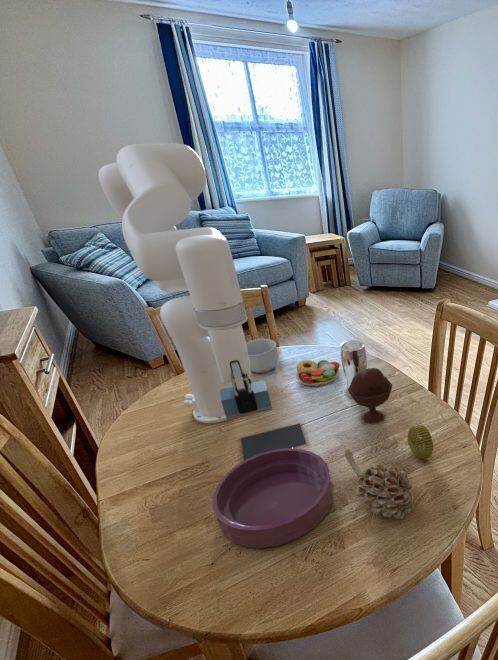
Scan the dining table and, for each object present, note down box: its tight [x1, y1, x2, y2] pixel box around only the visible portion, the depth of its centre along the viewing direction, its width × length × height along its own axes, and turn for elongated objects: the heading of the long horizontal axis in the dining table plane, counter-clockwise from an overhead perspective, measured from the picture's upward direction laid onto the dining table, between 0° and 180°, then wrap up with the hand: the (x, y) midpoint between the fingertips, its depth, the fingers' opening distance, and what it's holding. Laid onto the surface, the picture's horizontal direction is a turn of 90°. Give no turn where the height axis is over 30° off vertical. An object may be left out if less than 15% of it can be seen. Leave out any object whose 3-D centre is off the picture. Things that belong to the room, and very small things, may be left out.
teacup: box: [246, 338, 279, 374], centre depth 129 cm, size 14×11×8 cm
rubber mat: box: [240, 423, 307, 461], centre depth 99 cm, size 14×9×1 cm, turn 116°
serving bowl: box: [211, 447, 334, 549], centre depth 81 cm, size 22×22×6 cm
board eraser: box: [220, 379, 273, 422], centre depth 78 cm, size 8×4×4 cm, turn 116°
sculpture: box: [407, 424, 434, 460], centre depth 93 cm, size 8×4×8 cm, turn 29°
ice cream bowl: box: [348, 367, 393, 424], centre depth 104 cm, size 11×11×15 cm
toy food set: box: [295, 359, 341, 387], centre depth 126 cm, size 13×13×3 cm
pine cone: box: [344, 447, 415, 519], centre depth 82 cm, size 22×10×10 cm, turn 46°
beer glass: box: [340, 339, 368, 398], centre depth 115 cm, size 7×7×15 cm
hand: (247, 403), depth 78 cm, fingers closed on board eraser, 4 cm apart
